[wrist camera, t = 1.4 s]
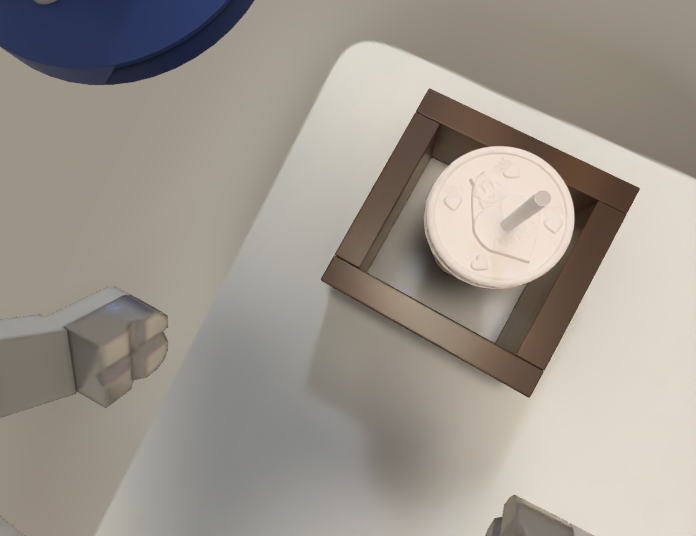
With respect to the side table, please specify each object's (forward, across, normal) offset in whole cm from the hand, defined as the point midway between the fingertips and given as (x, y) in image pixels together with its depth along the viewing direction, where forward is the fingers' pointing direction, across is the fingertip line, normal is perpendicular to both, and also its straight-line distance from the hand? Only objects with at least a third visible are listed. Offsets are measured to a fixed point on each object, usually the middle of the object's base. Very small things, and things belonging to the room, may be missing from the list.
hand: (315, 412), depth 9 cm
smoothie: (+21, -1, +4) cm, 21 cm away
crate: (+21, -1, +4) cm, 21 cm away
